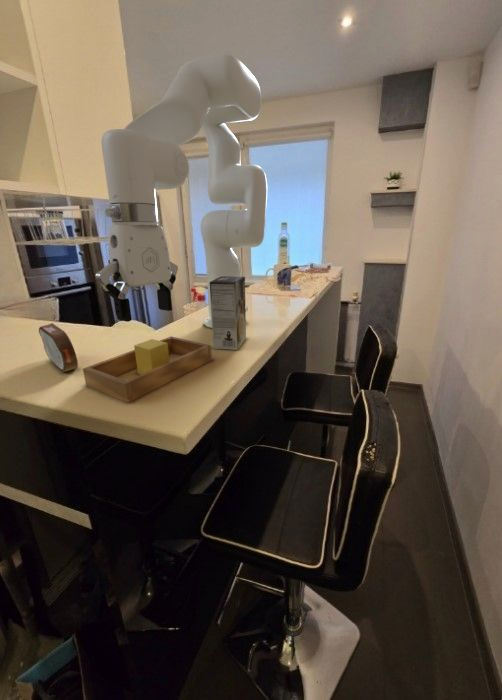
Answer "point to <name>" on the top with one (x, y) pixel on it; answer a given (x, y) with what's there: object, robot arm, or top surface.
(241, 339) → the coffee box
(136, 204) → the robot arm
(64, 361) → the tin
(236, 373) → the top surface
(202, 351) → the wooden tray
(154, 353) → the block
